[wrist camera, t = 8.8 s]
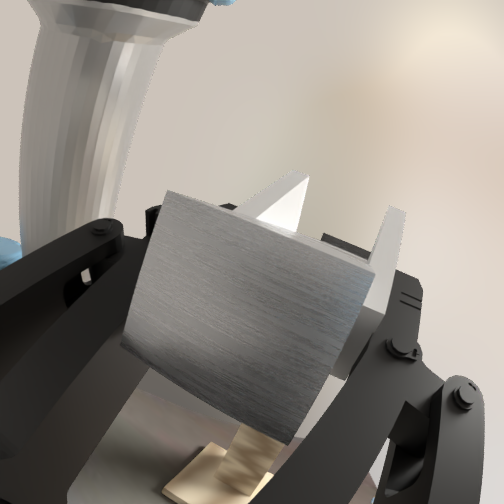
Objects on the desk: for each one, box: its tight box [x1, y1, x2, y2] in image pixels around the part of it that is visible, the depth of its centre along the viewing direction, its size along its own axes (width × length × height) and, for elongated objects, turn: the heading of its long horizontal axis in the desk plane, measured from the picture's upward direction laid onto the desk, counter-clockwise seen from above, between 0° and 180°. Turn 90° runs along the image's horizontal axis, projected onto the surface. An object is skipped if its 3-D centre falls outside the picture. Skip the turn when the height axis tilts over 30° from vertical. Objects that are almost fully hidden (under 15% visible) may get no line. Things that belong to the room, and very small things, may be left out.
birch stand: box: [162, 423, 285, 504], centre depth 35 cm, size 14×14×30 cm
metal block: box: [120, 191, 376, 446], centre depth 15 cm, size 22×4×4 cm, turn 159°
